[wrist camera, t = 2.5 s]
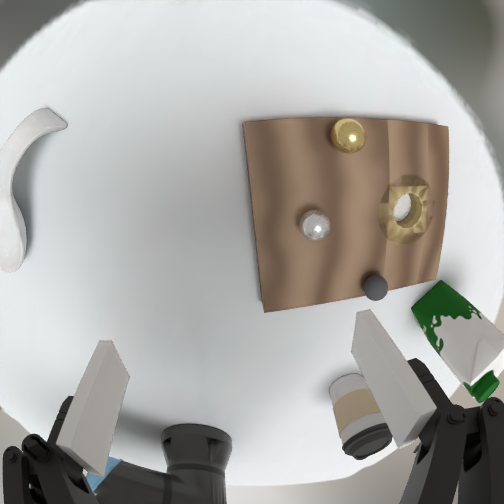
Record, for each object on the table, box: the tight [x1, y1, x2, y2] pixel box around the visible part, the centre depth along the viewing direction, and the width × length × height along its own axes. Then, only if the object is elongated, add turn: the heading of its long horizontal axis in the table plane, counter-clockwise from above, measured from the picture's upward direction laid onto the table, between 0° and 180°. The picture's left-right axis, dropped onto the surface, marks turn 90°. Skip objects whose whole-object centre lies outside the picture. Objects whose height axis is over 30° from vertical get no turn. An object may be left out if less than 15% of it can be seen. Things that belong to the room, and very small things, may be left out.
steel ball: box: [299, 210, 330, 241], centre depth 29 cm, size 3×3×3 cm
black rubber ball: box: [363, 275, 388, 301], centre depth 32 cm, size 3×3×3 cm
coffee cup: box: [329, 374, 393, 460], centre depth 39 cm, size 9×9×15 cm
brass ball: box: [331, 119, 366, 154], centre depth 25 cm, size 4×4×4 cm
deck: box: [243, 118, 449, 313], centre depth 31 cm, size 26×22×2 cm
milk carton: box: [411, 280, 504, 403], centre depth 31 cm, size 9×9×20 cm
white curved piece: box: [0, 108, 67, 272], centre depth 24 cm, size 24×12×7 cm, turn 140°
